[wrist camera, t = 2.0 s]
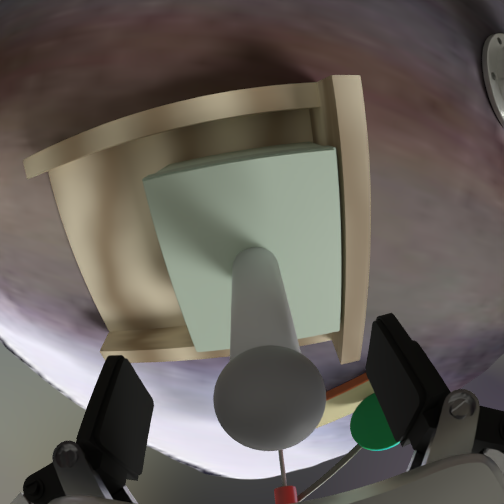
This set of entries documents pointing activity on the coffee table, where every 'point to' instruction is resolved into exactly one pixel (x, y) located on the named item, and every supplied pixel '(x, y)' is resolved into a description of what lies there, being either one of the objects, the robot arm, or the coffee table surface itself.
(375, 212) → the coffee table surface
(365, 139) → the bay
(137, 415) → the robot arm
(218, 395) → the green joystick
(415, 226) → the coffee table surface
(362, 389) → the crank mechanism
